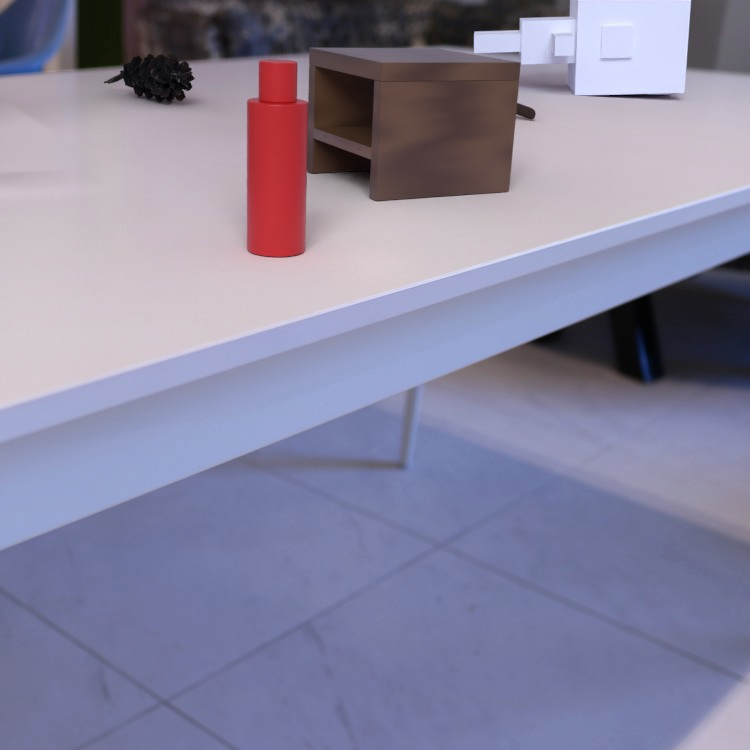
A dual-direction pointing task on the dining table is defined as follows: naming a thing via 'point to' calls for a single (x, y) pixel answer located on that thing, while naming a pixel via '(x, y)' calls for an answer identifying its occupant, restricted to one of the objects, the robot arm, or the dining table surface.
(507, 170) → the shelf
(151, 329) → the dining table surface
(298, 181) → the bottle
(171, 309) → the dining table surface
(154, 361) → the dining table surface
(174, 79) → the pine cone
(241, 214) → the dining table surface
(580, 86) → the blocky voxel creature
